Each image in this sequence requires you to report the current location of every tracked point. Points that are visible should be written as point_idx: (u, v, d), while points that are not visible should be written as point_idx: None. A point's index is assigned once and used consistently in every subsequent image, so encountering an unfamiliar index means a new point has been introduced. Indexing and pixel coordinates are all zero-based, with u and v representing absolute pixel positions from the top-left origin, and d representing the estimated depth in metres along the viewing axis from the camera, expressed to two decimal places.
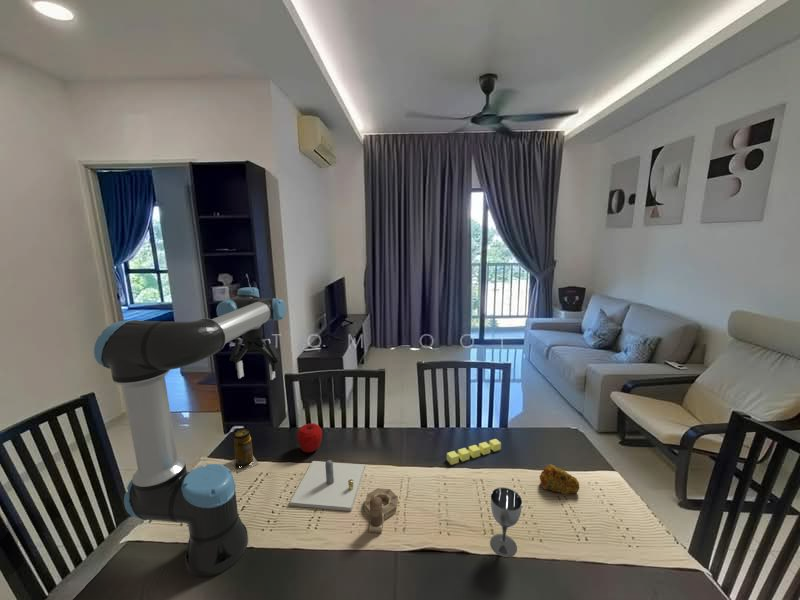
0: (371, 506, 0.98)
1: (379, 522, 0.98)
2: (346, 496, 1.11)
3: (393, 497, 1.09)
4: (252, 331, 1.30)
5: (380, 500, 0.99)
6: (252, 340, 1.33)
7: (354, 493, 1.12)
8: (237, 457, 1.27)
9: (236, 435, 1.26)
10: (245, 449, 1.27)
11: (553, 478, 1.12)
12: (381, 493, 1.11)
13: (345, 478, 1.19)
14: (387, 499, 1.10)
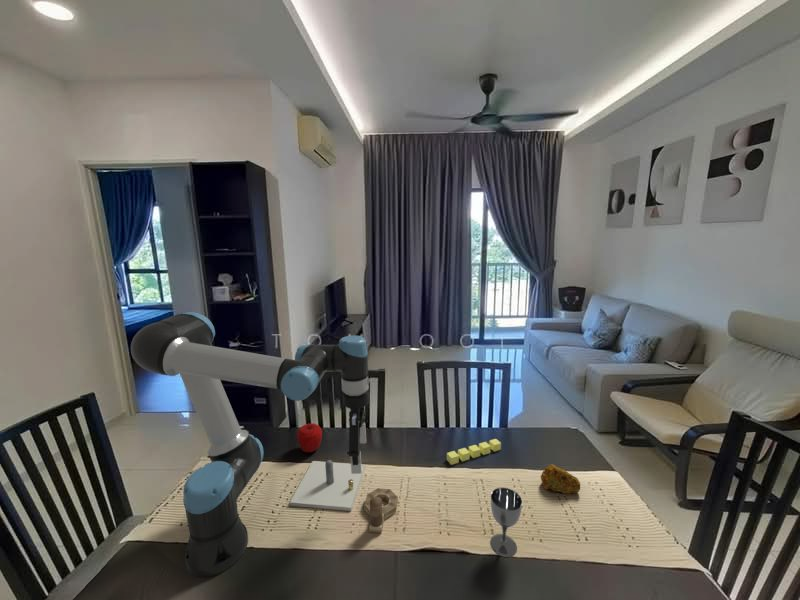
0: (371, 506, 0.98)
1: (379, 522, 0.98)
2: (346, 496, 1.11)
3: (393, 497, 1.09)
4: (343, 396, 0.95)
5: (380, 500, 0.99)
6: None
7: (354, 493, 1.12)
8: None
9: None
10: None
11: (554, 478, 1.12)
12: (381, 493, 1.11)
13: (345, 478, 1.19)
14: (387, 499, 1.10)
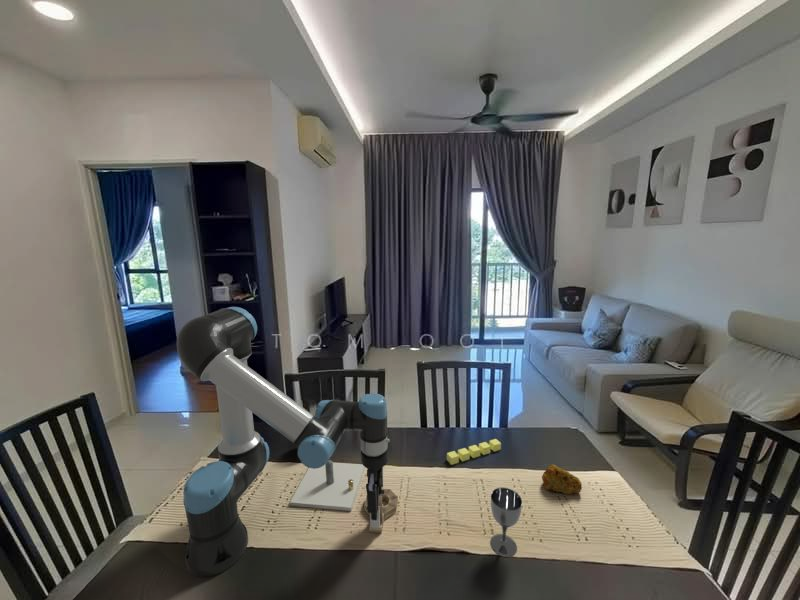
0: None
1: None
2: (346, 496, 1.11)
3: (393, 497, 1.09)
4: (362, 455, 0.94)
5: (380, 500, 0.99)
6: None
7: (354, 493, 1.12)
8: None
9: None
10: None
11: (555, 479, 1.12)
12: None
13: (345, 478, 1.19)
14: (387, 499, 1.10)
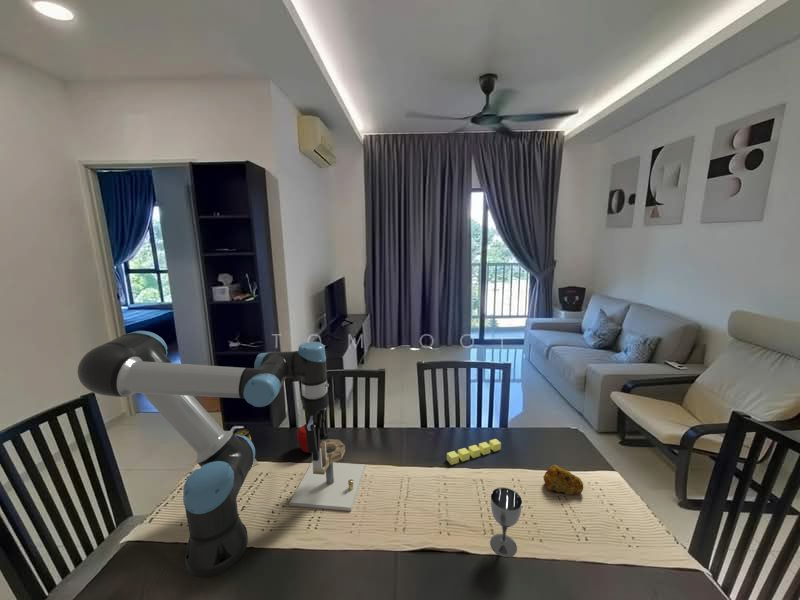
0: None
1: (322, 464, 1.05)
2: (346, 496, 1.11)
3: (341, 445, 1.16)
4: (302, 399, 1.00)
5: (323, 444, 1.06)
6: None
7: (354, 493, 1.12)
8: None
9: None
10: None
11: (557, 479, 1.12)
12: (330, 442, 1.18)
13: (345, 478, 1.19)
14: (335, 448, 1.16)
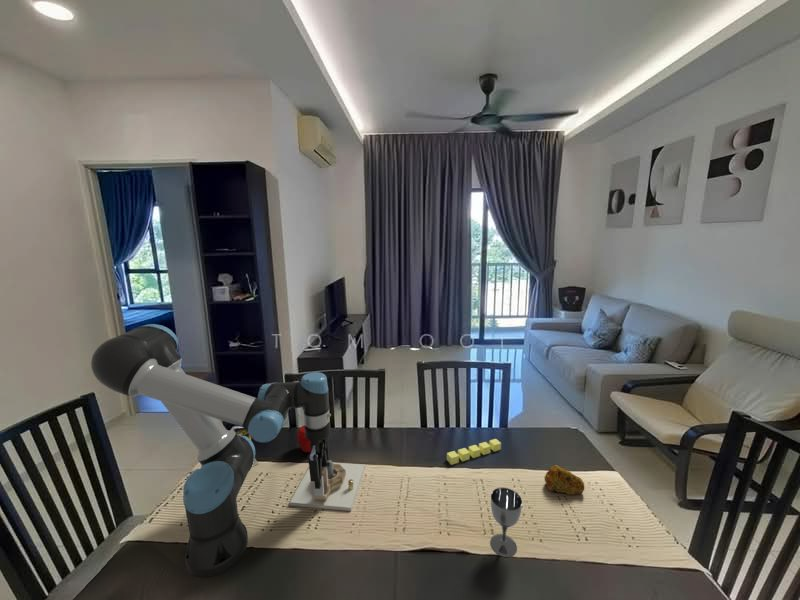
0: None
1: (324, 491, 1.07)
2: (346, 496, 1.11)
3: (342, 470, 1.18)
4: (305, 428, 1.02)
5: (325, 471, 1.08)
6: None
7: (354, 493, 1.12)
8: None
9: None
10: None
11: (558, 479, 1.12)
12: None
13: (345, 478, 1.19)
14: (336, 473, 1.18)
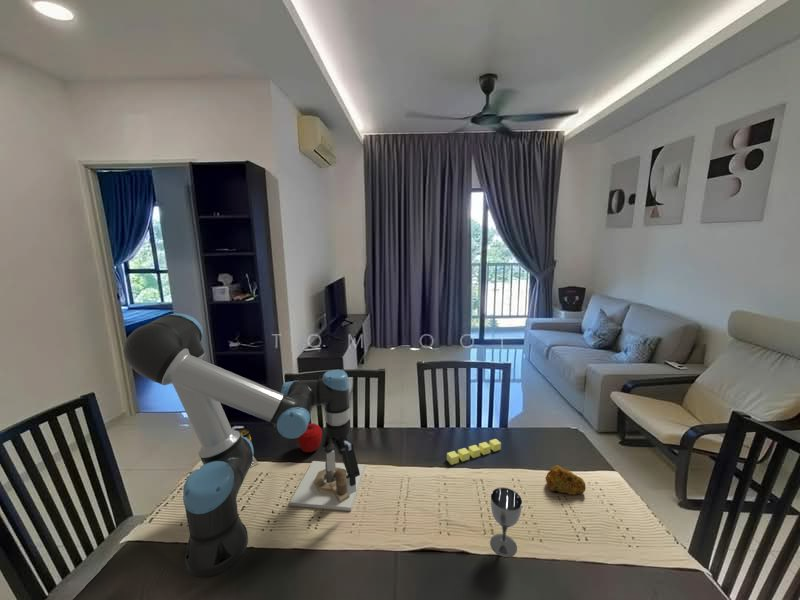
0: (340, 477, 1.07)
1: (346, 488, 1.10)
2: None
3: (337, 469, 1.20)
4: (331, 428, 1.02)
5: (343, 469, 1.10)
6: None
7: (354, 493, 1.12)
8: None
9: None
10: None
11: (559, 479, 1.12)
12: (324, 473, 1.19)
13: None
14: None
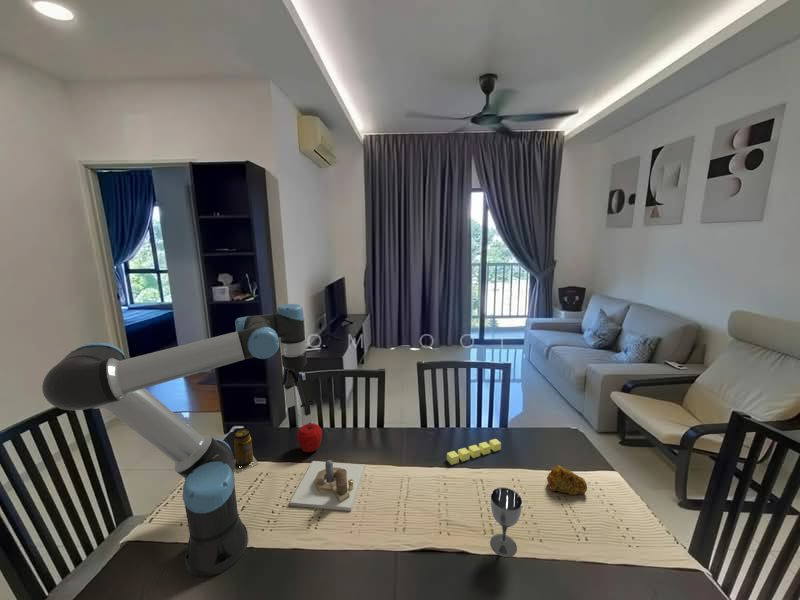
0: (340, 477, 1.07)
1: (346, 488, 1.10)
2: None
3: (337, 469, 1.20)
4: (286, 359, 1.05)
5: (343, 469, 1.10)
6: (292, 369, 1.08)
7: (354, 493, 1.12)
8: (237, 457, 1.27)
9: (236, 435, 1.26)
10: (245, 449, 1.27)
11: (561, 480, 1.12)
12: (324, 473, 1.19)
13: None
14: None
